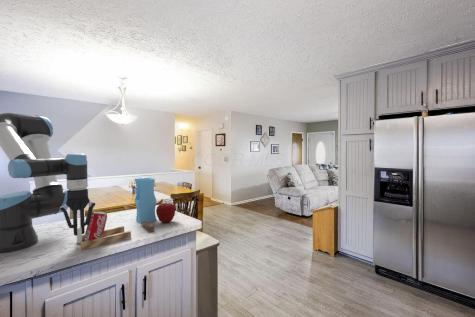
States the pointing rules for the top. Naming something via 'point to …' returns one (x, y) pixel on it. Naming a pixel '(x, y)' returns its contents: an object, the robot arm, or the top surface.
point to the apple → (165, 212)
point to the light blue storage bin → (145, 200)
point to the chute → (106, 238)
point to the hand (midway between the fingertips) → (79, 241)
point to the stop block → (148, 226)
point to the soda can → (96, 225)
